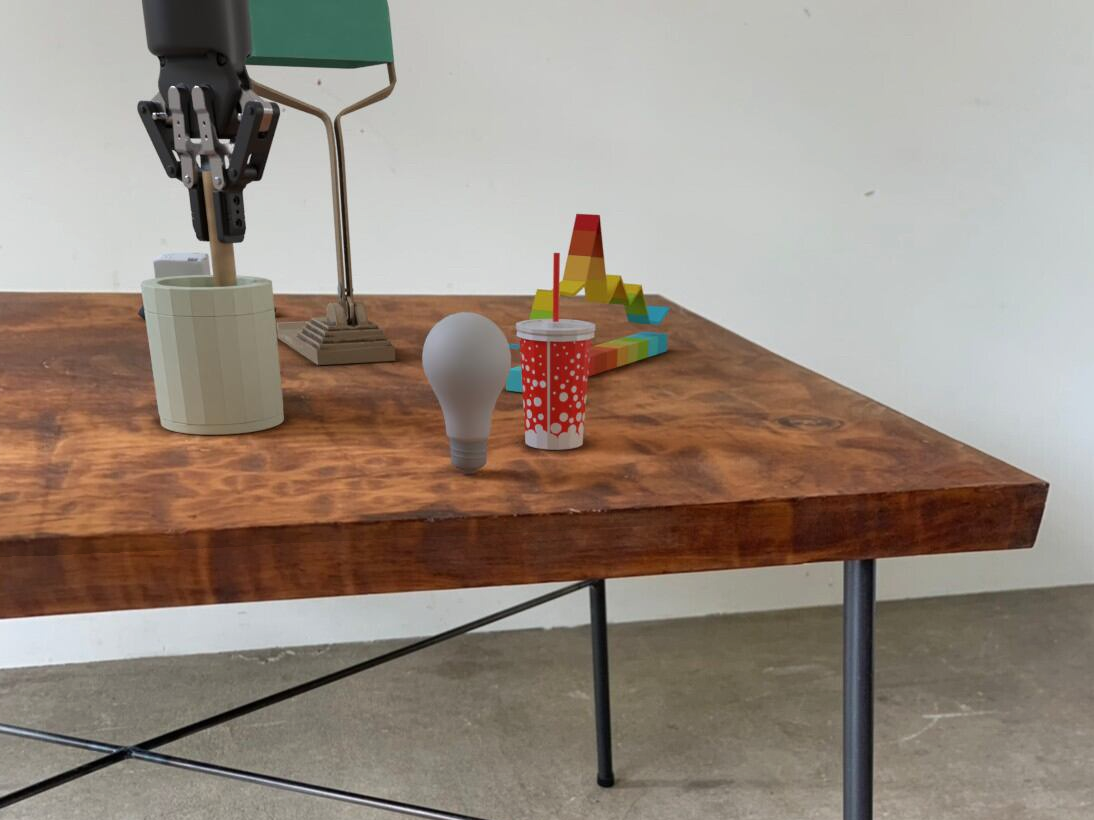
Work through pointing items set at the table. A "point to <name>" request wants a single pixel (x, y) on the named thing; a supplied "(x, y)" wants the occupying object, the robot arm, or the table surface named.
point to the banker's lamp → (328, 42)
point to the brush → (219, 251)
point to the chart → (601, 288)
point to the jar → (214, 354)
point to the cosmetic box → (181, 264)
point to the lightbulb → (467, 381)
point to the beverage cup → (554, 376)
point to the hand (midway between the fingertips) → (220, 240)
